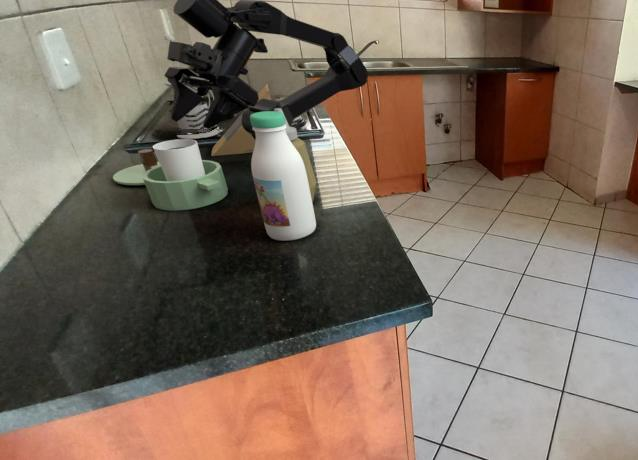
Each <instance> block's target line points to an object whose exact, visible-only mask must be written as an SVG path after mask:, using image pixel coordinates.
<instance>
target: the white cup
mask: <svg viewBox="0 0 638 460" xmlns="http://www.w3.org/2000/svg"><path fill="white" fill-rule="evenodd" d="M152 148H153V149H152V150H153V152H154V154H155V157H156V158H157V160H158V161H157V162H159V163H160V165H161V168H162V170H163V172H164V175H165V177H166V180H167V181H181V180H187V179H192V178H197V177H200V176H204V175H205V171H204V167H203V163H202V160H203V159H202V155H201V152H200V148H199V144H198V141H197V140H195V139H186V138H178V139H170V140H164V141H160V142H157V143H155V144H154V145H152Z"/></svg>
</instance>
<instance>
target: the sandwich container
mask: <svg viewBox="0 0 638 460" xmlns="http://www.w3.org/2000/svg"><path fill="white" fill-rule="evenodd" d="M258 97H259V100H261V99H263V98H264V99H268V100H272V99H271V95H270V90H269V85H268V84H267V83H266V84H265V85H264V86H263V88H262V89H261V90H260V91H259V92H258ZM259 100H258V101H259ZM258 101H257V102H258ZM248 109H249V108H248ZM246 110H247V109H244V110H243V112H242V113H241V114H239V116H238V117H237V119H236V120H235V121H234V122H233V124H232V125H230V126H229V127H228V129H227V130H226V132H224V134H223V135H222V136H221V137H220V139H218V141H217V142H216V143H215V144H214V145H213V147H212V150H211V157H216V156H217V157H218V156H229V155H240V154H249V153H251V154H253V152H254V148H255V141H256V140H255V139H254V138H253V136H252V135H251V134H250V133H248V132H247V131H246V130H245V129H244V128H243V126H242V114H243V113H244V112H245V111H246Z"/></svg>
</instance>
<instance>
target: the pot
mask: <svg viewBox="0 0 638 460" xmlns="http://www.w3.org/2000/svg"><path fill="white" fill-rule="evenodd" d="M202 163H203V167H204V171H205V175H204V176H200V177H197V178H192V179H187V180H181V181H167V180H166V177H165V175H164V172H163V170H162V168H161V165H156V166H153V167H151V169H150V170H147V171H146V172H145V173H144V174H143V175H142V177H143V180H144V183H145V185H144V186H145V188H146V190H147V193H148V196H149V197H150V201H151V203H152V205H153V207H154V208H156V209H159V210H163V211H173V212H174V211H189V210H194V209H199V208H203V207H207V206H210V205H213V204H215V203H217V202H220V201H221V200H223V199H225V197H227V196H228V194H229V188H228V185H227V181H226V178H225V174H224V171H223V168H222V165H221V164H220V162H217V161H214V160H208V159H202Z"/></svg>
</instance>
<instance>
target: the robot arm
mask: <svg viewBox="0 0 638 460" xmlns="http://www.w3.org/2000/svg"><path fill="white" fill-rule="evenodd" d="M172 10H173V13H174V15H176V16H178V17H179V18H180V19H181V20H183V21H184V22H185V23H186V24H187V25H188V26H190V27H192V28H193V29H194V30H196V31H197V32H198V33H200V35H202V36H203V37H205V38H207V39H208V38H215V39H216V38H217V40H216V42H215V43H214V45H213V47H212V46H211V44H208V43H205V42H200V41H195V42H194V43H193V45H192V44H189V43H184V42H179V41H173V40H171V41H169V44H168V49H167V50H168V51H167V57H166V58H167V61H171V62H176V61H177V62H176V63H179V64H183V65H187V66H189V68H187V67H181V66H179V67H178V66H169V67H168V68H167V70H166V72H165V73H164V75H163V76H164V77H165V78H166V80H168V82H169V83H171V85H172V86H171V87H172V89H173V97H174V100H173V101H172V104H173V107H172V106H171V107H172V108H171V114H170V119H171V120H172V121H174V122H175V123H176V122H177V121H179V120H180V119H182V118H183V117H184V116H188V115H187V114H188V113H189V112H190V111H191V110H192V109H194V108H195V107H196V106H197V105H198V104H200V103H201V102H202V103H203V102H204V100H205V96H207V95H208V94H209V93H210V91H211V92H212V94H213V96H214V100H213V99H212V102H211V103H210V107H209V109H208V110H209V111H208V113H206V114H205V115H206V118H205V120H204V123H203V127H205V128H207V129H210V128H212V127H214V128H215V126H217V125H219V124H220V123H222V122H224V121H225V120H227V119H229V118H231V117H232V116H234V115H236V114H238V113H240V112H242V111H243V112H244V111H245V109H247V110H246V111H245V112H244V113H243V112H242V113H243V114H242V113H241V114H242V126H243V128H244V129H245V130H246V131H247V132H248V133H250V134H251V135H252V136H253V138H254V139H255V140H256V134H255V131H254V130H253V129H252V128H253V127H252V125H251V121H250V115H251V114H254V113H257V112H264V111H274V109H276V108H281V109H282V111H283V113H284V116H285V118H286V120H287V122H288V125H289V127H292V124H293V123H294V121H295V119H296V118H298V117H300V116H303V114H305V113H307V112H309V111H310V110H311V109H313V108H315V107H316V106H318V105H320V104H322V103H323V102H325V101H326V100H328V99H330V98H332V97H333V96H335V95H336V94H338V93H340V92H344V91H351V90H356V89H359V88H362V87H364V86H365V85H366V84H367V82H368V69H367V67H366V66H365V65H364V64H363V61H362V60H361V58H360V56H359V55H358V54H357V53H356V52H355V50H354V49H353V48H352V47H351V46H350V45H349V43H348V42H347V40H346V38H345V36H344V35H342V33H339V32H333V31H330V30H327V29H324V28H321V27H319V26H316V25H313V24H310V23H307V22H304V21H301V20H298V19H295V18H292V17H290V16H289V15H287V14H285V12H283V11H282V10H281V9H279V8H278V7H275V6H273V5H272V4H270V3H268V2H266V1H263V0H238V1H236V2H235V4H234V5H233V6H229V7H226V6H224V5H223V4H222V3H221V2H220V1H219V0H177V1H176V2H175V3H174V6H173V9H172ZM253 32H254V33H261V34H269V35H277V36H278V35H279V36H284V37H288V38H291V39H294V40H297V41H301V42H303V43H307V44H310V45H314V46H317V47H320V48H323V50H324V52H325V53H324V54H325V58H326V62H327V65H328V66H329V67H328V68H327V70H326V73H325V75H323V76H322V77H320V78H318V79H316V80H315V81H313V82H310V83H309V84H307V85H306V86H304V87H302V88H301V89H298V90H297V91H295V92H293V93H291V94H290V95H287V96H286V97H284V98H282V99H280V100H279V101H277V100H272V99H271V100H268V99H264V98H263V99H261V100H259V97H258V94H259V92H258V91H257V90H256V89H254V88H253V87H252V86H251V85H250V84H248V83H247V82H245V81H244V80H243V79H242V78H241V77H240V76H241V75H243V76H247V74H248V73H249V70H248V69H247V68H246V66H247V64H248V62H249V61H250V59H251V57H252V55H253V54H254V52H255V53H258V54H259V53H261V54H267V53H268V51H269V50H268V47H267V46H266V43H265V39H264V38H262V37H261V38H260V37H256V36H255V35H253ZM209 90H210V91H209ZM207 93H208V94H207ZM201 96H202V97H201ZM203 97H204V98H203ZM258 100H259V101H258ZM257 101H258V102H257ZM248 108H249V109H248ZM297 135H298V133H297Z"/></svg>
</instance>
